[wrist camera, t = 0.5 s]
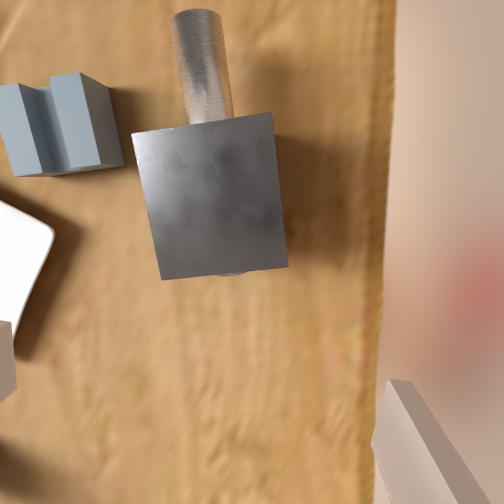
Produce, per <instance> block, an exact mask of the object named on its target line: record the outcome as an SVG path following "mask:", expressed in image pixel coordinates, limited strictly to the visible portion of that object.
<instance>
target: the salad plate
mask: <svg viewBox="0 0 504 504" xmlns="http://www.w3.org/2000/svg"><path fill="white" fill-rule="evenodd" d="M54 238H55V232H54V229H53V228H52V227H51V226H49V225H47V224H46V223H44V222H42V221H40V220H38V219H36V218H34V217H33V216H31V215H29V214H27V213H25V212H23V211H21V210H19V209H17V208H15V207H13V206H11V205H9V204H7V203H4V202H2V201H1V200H0V320H2V321H9V322H11V323H12V335H13V341H14V337H15V334H16V331H17V328H18V325H19V322H20V319H21V316H22V313H23V310H24V308H25V305H26V303H27V300H28V298H29V296H30V293H31V291H32V289H33V286H34V284H35V282H36V280H37V278H38V276H39V273H40V271H41V269H42V267H43V265H44V263H45V260H46V258H47V256H48V254H49V252H50V249H51V247H52V244H53V242H54Z"/></svg>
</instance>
